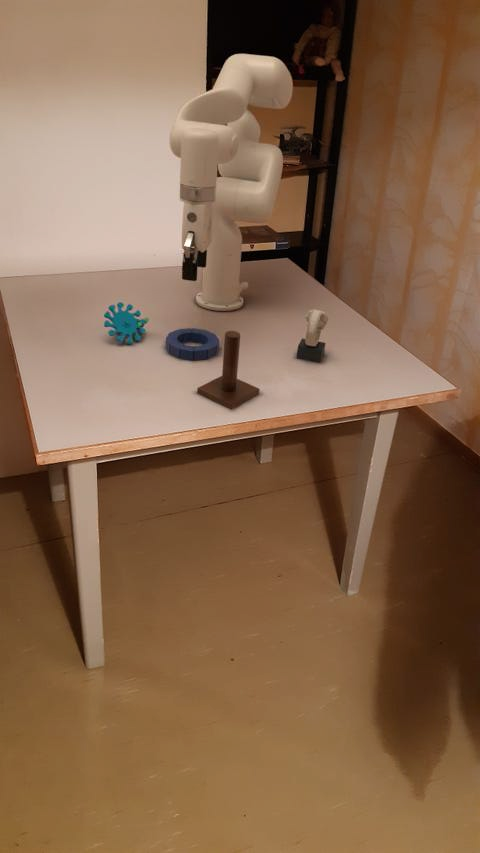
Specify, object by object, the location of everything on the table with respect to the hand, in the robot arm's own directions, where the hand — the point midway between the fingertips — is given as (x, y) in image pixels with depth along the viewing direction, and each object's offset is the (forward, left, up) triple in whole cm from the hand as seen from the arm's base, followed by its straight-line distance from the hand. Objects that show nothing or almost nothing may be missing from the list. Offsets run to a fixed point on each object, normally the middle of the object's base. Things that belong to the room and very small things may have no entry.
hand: (194, 273), depth 148 cm
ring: (+3, +3, -16) cm, 17 cm away
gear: (+10, -11, -16) cm, 22 cm away
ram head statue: (-14, +24, -16) cm, 32 cm away
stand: (+13, +22, -16) cm, 31 cm away
